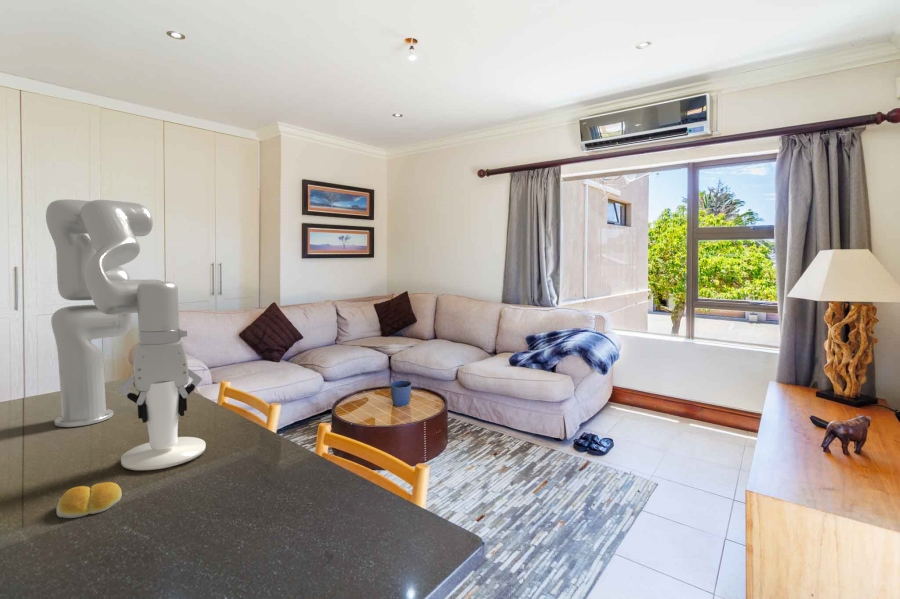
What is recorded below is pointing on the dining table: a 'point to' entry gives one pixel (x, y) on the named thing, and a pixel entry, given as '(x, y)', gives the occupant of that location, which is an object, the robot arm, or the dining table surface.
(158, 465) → the cream dish
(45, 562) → the dining table surface
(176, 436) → the white cup
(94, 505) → the bread roll
